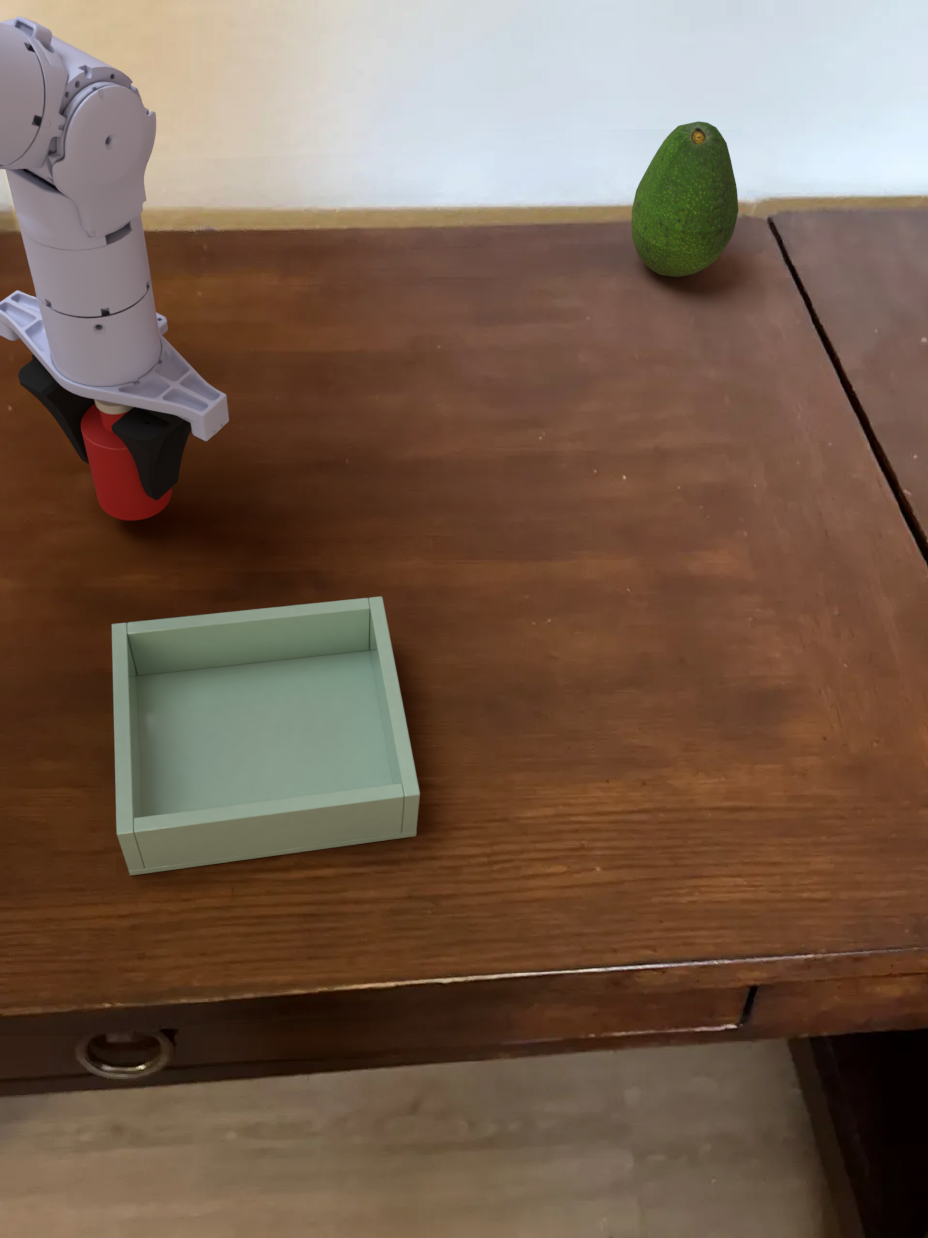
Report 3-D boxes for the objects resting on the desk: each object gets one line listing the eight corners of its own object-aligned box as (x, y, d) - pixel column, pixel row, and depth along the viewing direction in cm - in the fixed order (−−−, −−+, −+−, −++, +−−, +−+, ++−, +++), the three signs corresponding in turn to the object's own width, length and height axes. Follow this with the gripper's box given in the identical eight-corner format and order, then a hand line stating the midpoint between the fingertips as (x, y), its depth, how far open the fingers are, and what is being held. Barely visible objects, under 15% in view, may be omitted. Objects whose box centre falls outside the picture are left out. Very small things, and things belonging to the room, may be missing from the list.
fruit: (599, 255, 95) (627, 112, 85) (677, 227, 98) (712, 86, 88) (662, 312, 91) (699, 169, 82) (741, 282, 94) (785, 140, 85)
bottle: (98, 524, 72) (73, 422, 66) (97, 471, 75) (73, 368, 68) (173, 517, 73) (156, 416, 66) (170, 465, 75) (153, 363, 69)
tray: (129, 876, 61) (116, 834, 57) (123, 671, 68) (111, 623, 65) (416, 836, 63) (420, 794, 60) (380, 643, 71) (382, 595, 67)
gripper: (257, 296, 62) (270, 482, 72) (39, 193, 65) (82, 384, 76) (167, 371, 58) (195, 556, 68) (-59, 258, 62) (1, 449, 72)
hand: (130, 470), depth 72 cm, fingers closed on bottle, 4 cm apart
